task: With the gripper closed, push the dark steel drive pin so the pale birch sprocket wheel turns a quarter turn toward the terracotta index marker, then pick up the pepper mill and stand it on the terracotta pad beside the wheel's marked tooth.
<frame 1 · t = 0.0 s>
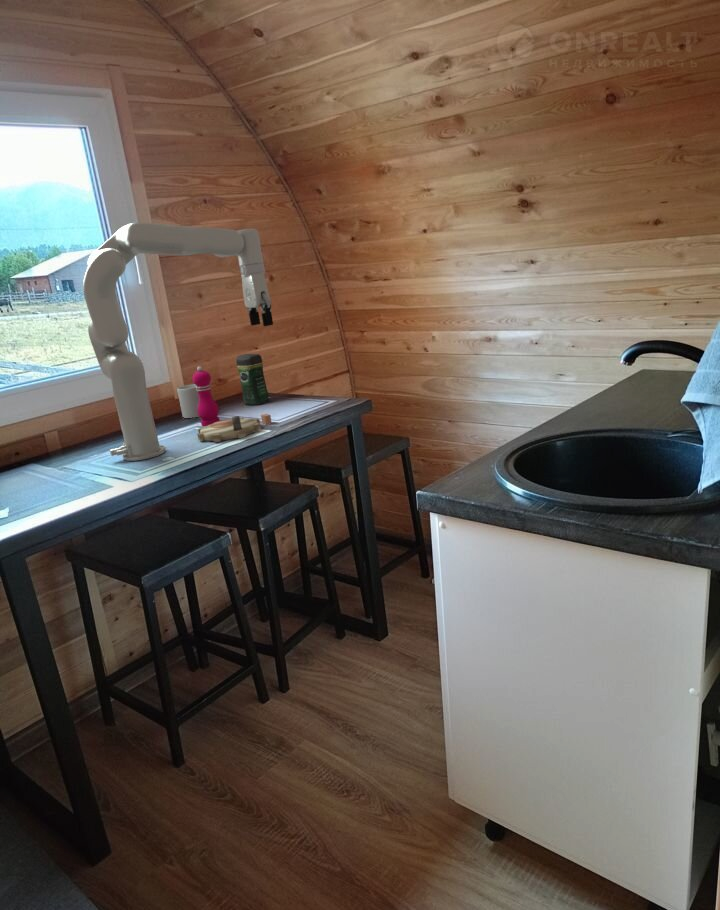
hand: (261, 325, 229), 31 cm above the table, tool pointing down, fingers open, 9 cm apart
coffee jar: (257, 403, 268), on the table
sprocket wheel: (228, 423, 226), point 4 cm above the table, hinge at 0.0°
mug: (198, 416, 260), on the table
index marker: (267, 423, 233), on the table
pepper mill: (211, 424, 244), on the table
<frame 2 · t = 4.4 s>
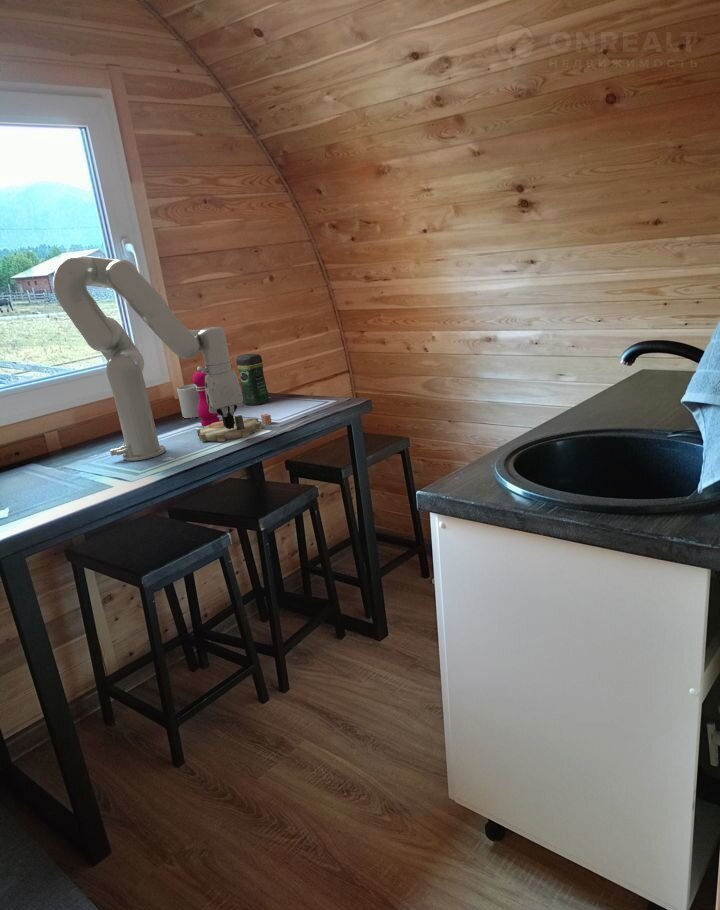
hand: (229, 428, 219), 4 cm above the table, tool pointing down, fingers closed
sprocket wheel: (228, 423, 226), point 4 cm above the table, hinge at 7.5°, touching gripper
everything else where it was.
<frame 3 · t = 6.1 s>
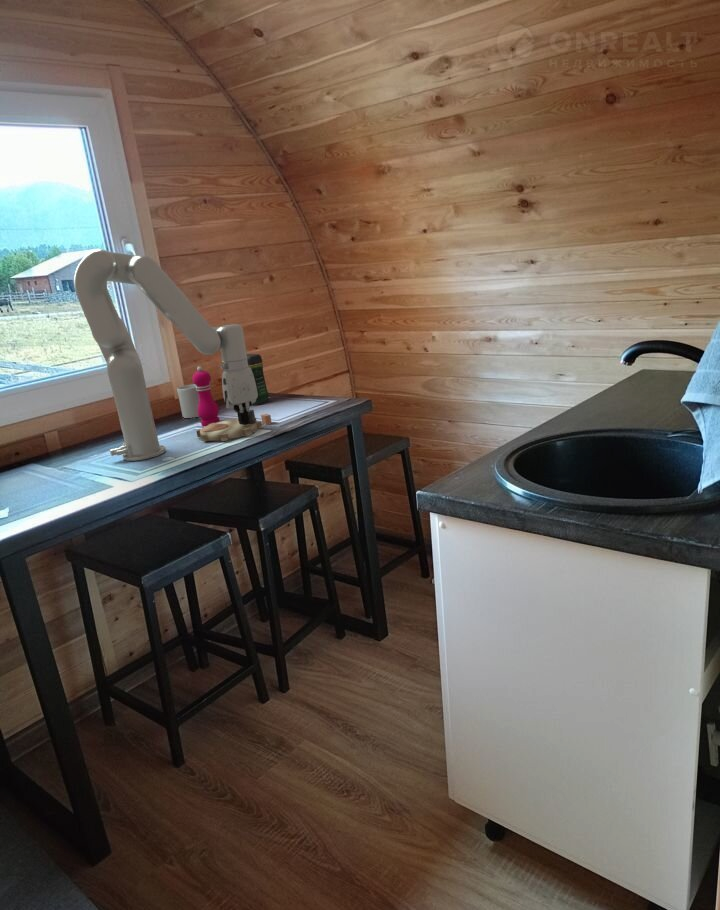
hand: (244, 423, 223), 3 cm above the table, tool pointing down, fingers closed
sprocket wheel: (228, 423, 226), point 4 cm above the table, hinge at 58.8°, touching gripper
everything else where it was.
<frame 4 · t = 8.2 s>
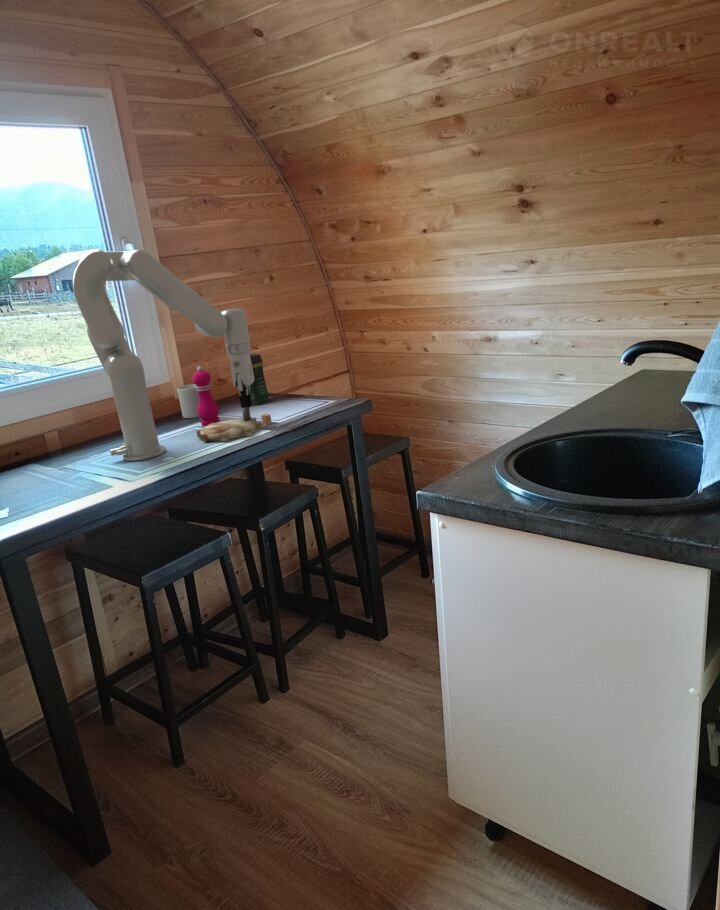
hand: (246, 406, 227), 7 cm above the table, tool pointing down, fingers closed
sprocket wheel: (228, 423, 226), point 4 cm above the table, hinge at 104.3°
everything else where it was.
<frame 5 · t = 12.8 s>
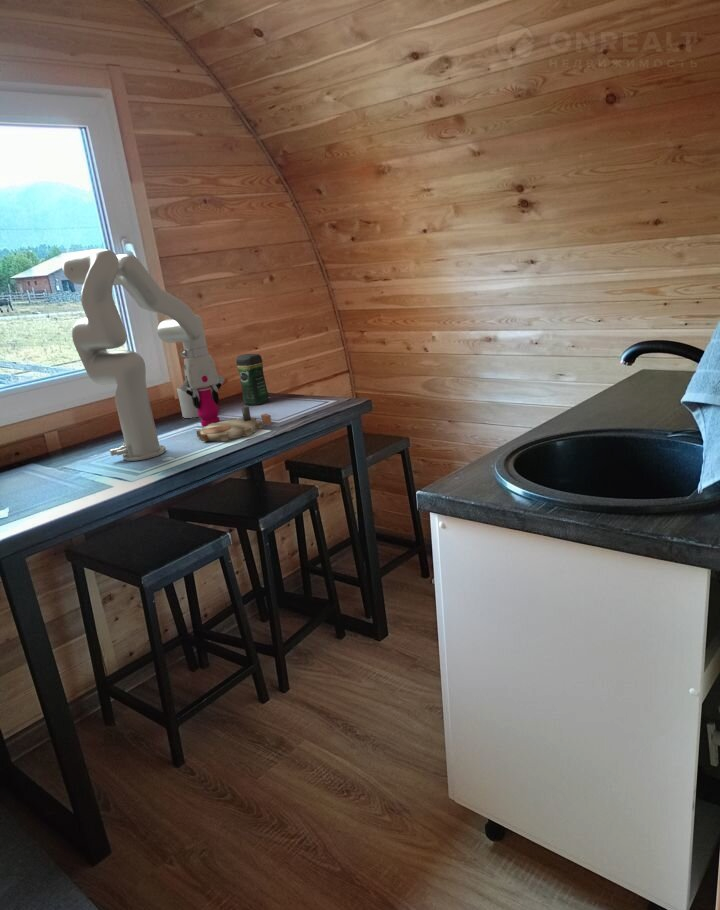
hand: (206, 405, 242), 7 cm above the table, tool pointing down, fingers closed on pepper mill, 5 cm apart
pepper mill: (211, 424, 244), on the table, touching gripper
everything else where it was.
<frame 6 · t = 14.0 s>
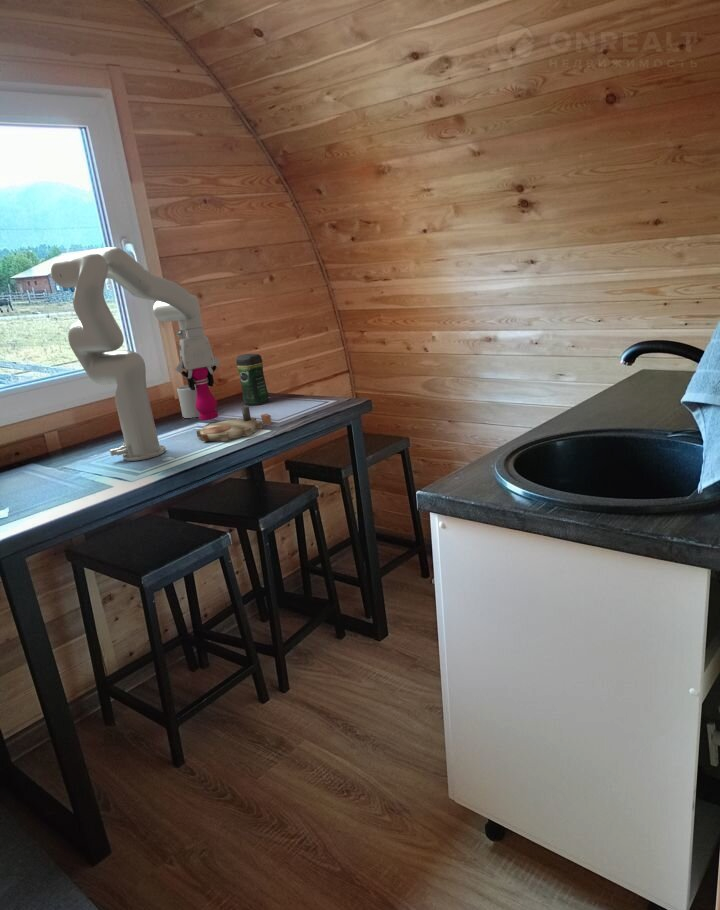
hand: (201, 387, 240), 13 cm above the table, tool pointing down, fingers closed on pepper mill, 5 cm apart
pepper mill: (209, 418, 244), point 2 cm above the table, touching gripper
everything else where it was.
when the fingers open (14 cm above the table, at t = 18.9 s): pepper mill stays where it is, resting on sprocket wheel.
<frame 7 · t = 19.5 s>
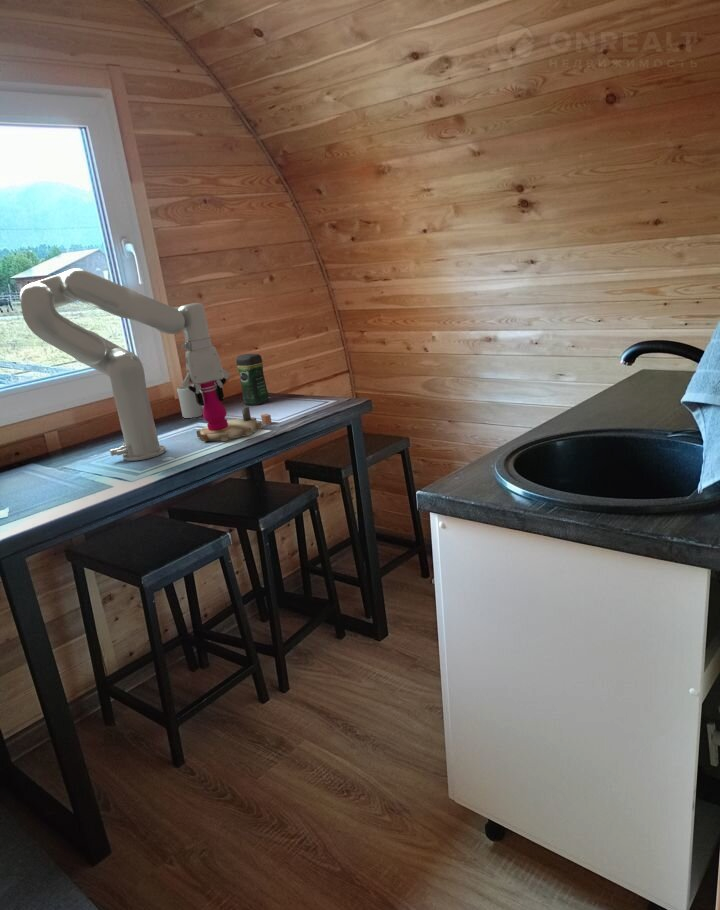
hand: (211, 402, 222), 11 cm above the table, tool pointing down, fingers open, 5 cm apart
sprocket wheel: (228, 423, 226), point 4 cm above the table, hinge at 104.3°, touching pepper mill
pepper mill: (218, 427, 225), point 3 cm above the table, touching gripper, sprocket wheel
everything else where it was.
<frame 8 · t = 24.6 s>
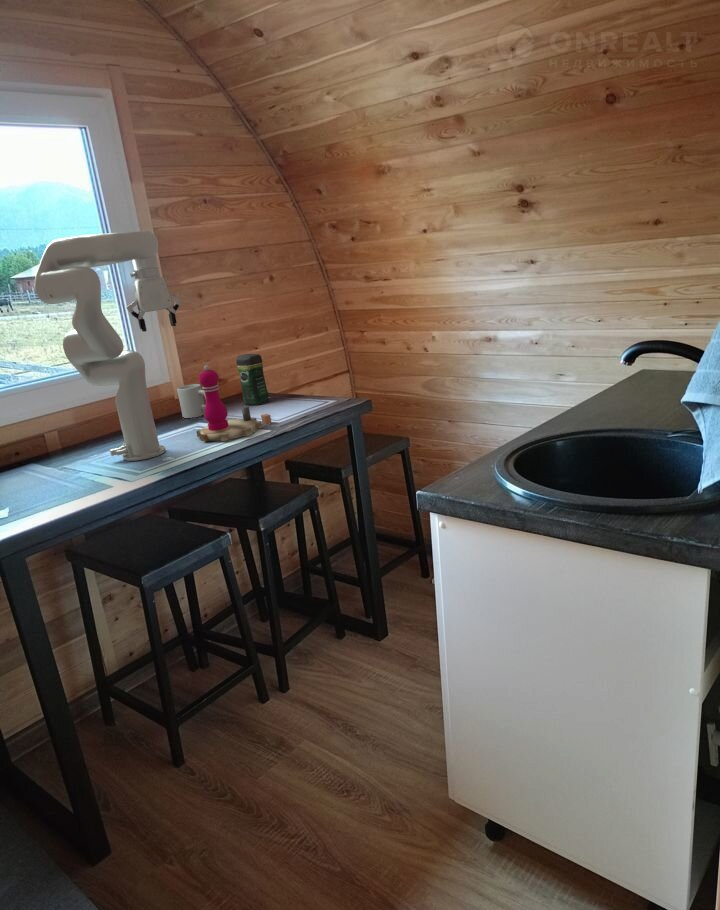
hand: (159, 328, 231), 34 cm above the table, tool pointing down, fingers open, 9 cm apart
pepper mill: (218, 428, 225), point 3 cm above the table, touching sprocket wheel
everything else where it was.
at the end: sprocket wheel at +104° (first picture: +0°); pepper mill inside the target area on the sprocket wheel (1.4 cm from its centre), point 2.5 cm above the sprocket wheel's base; pepper mill tilted 0° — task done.
